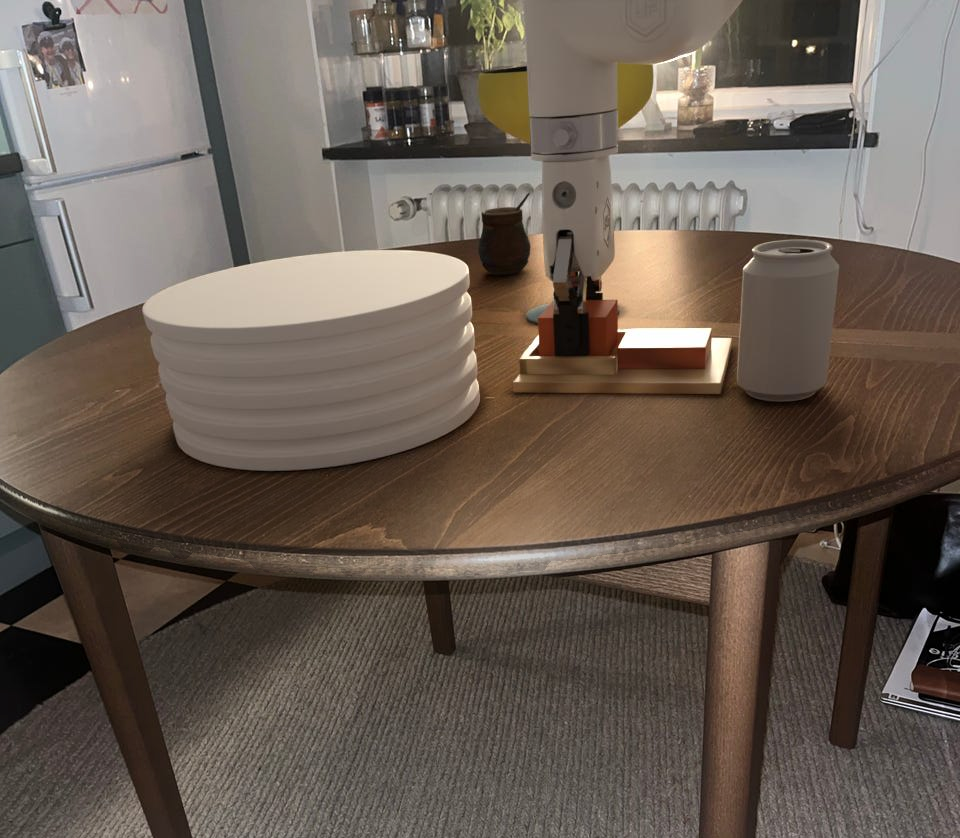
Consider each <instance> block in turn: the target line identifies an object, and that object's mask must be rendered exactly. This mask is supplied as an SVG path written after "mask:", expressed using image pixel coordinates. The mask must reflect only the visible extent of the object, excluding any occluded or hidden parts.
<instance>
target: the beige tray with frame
mask: <svg viewBox="0 0 960 838" xmlns="http://www.w3.org/2000/svg"><path fill="white" fill-rule="evenodd" d="M712 335H713V328H712V327H705V328H704V327H702V328H700V327H698V328H697V327H696V328H693V327H691V328H628V329H618V342H617V343H616V345H615V347H614V349H613V350H612V352H611V354H610V356H540V353H539V334H538V335H537V336H536V337H535V338H534V340H533V341H532V342H531V343H530V344H529V345H528V347H527V348H526V350H524V352H523V354H521V355H520V357H519V358H518V369H519V371H518V372H519V374H518V375H517V376H516V378H515V379H514V380H513V382H512V387H513V389H512V390H513V393H525V394H526V393H527V394H528V393H533V394H535V393H536V394H537V393H541V394H544V393H545V394H546V393H547V394H652V395H653V394H659V395H661V394H662V395H663V394H665V395H666V394H668V395H669V394H673V395H676V394H677V395H721V394H722V391H723V390H722V389H723V385H724V382H725V377H726V372H727V368H728V366H729V365H728V364H729V360H730V355H731V352H732V348H733V347H732V346H733V337H713V336H712Z"/></svg>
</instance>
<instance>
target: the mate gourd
mask: <svg viewBox="0 0 960 838" xmlns="http://www.w3.org/2000/svg"><path fill="white" fill-rule="evenodd" d="M530 194H531V192H527V193H526V194H525V196H524V197H523V199H522V200H521V201H520V202H519V204H518V205H517V206H516V207H515V206H512V207H511V206H503V207H494V208H489V209H485V210H483V211H481V223H482V230H481V234H480V238H479V241H478V249H477V251H478V256H479V260H480V262H481V265H482V267H483V269H484V270H485V271H487V273H489V275H492V276H509V275H515V274H519V273H521V272H522V271H523V270H524V269H525V267H526V266H527V265H528V264H529V258H530V256H531V242H530V241H531V240H530V238H529V235H528V233H527V232H526V229H525V227H524V223H523V220H524V219H523V218H524V217H523V215H524V214H523V209H522V208H521V207H522V206H524V204H525V202H526V201H527V199H528V198H529V197H530Z"/></svg>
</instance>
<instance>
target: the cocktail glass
mask: <svg viewBox="0 0 960 838" xmlns="http://www.w3.org/2000/svg"><path fill="white" fill-rule="evenodd" d="M477 77H478V78H477V97H478V104H479V108H480V110H481V113H482V114H483V116H484V117H485V118H486V119H487V120H488V121H489V122H490V123H491V124H493V126H495V127H496V128H498V129H499V130H500V131H502V132H504V133H506V134H508V135H509V136H512V137H513V138H515V139H517V140H520V141H522V142H524V143H526V144H528V145H529V146H531V139H530V119H529V118H530V116H529V97H528V77H527V65H523V66H513V67H507V68H498V69H493V70H492V69H491V70H486V71H482V72H480V73H478V76H477ZM654 77H655V76H654V64H651V65H647V64H633V63H622V62H617V94H618V108H617V110H618V129H620V128H621V127H623V126H624V125H626V124H627V123H628V122H629V121H631V120H632V119H633V118H634V117H636V115H638V114H639V113H640V112H641V111H642V110H643V108H644V107H645V106H646V105H647V104H648V102H649V101H650V99H651V96H652V93H653V90H654V89H653V88H654ZM570 277H571V276H570ZM571 288H572V286H571ZM550 303H551V302H547V303H544V304H541V305H537V306H535V307H532V308H531V309H529V310H528V311H527V312H526V319H527V320H528V321H529V322H531V323H534V324H537V325H538V317H539V316H540V315H541V314H542V313H543V311H544V310H545V309H546V308H547V307H548V306H549V305H550ZM620 311H621V310H620V306H619V305H618V314H619V313H620Z"/></svg>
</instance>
